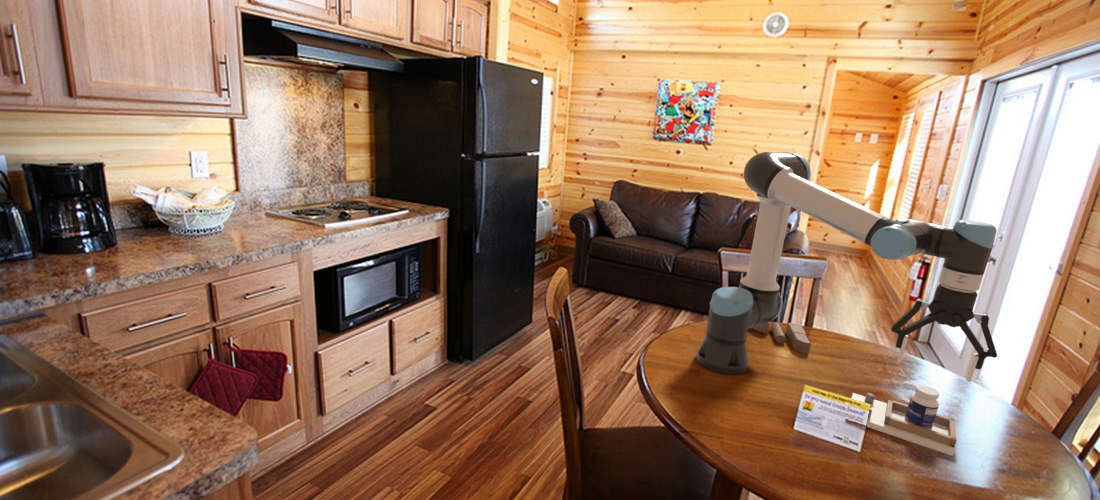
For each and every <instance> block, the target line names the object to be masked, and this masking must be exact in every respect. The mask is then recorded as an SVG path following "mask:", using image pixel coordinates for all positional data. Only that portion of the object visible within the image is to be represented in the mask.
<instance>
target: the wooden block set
mask: <svg viewBox="0 0 1100 500" xmlns="http://www.w3.org/2000/svg"><path fill="white" fill-rule="evenodd" d="M752 328H753V329H752ZM752 328H751V329H752V330H754V329H755V330H754V331H756V330H757V332H758V331H759V332H758V333H761V332H762V333H761V334H763V333H764V335H766V334H767V335H766V336H768V335H769V334H768V333H769V329H771V331H772V334H773V336H774V339H775V341H776V342H777V343H778V344H780V343H782V344H785V343H786V342H787V339H788V342H789V343H790V342H791V343H790V344H791V346H792V347H793V350H794V351H796V352H798V353H800V354H802V355H803V354H804V355H809V354H810V351H811V346H812V344H811V341H810V340H809V338H808V337H807V336H808V335H807V332H806V331H805V329H804V327H803V326H802V324H800V323H794V322H788V323H787V325H786V329H785V333H784V331H783V328H782V326H781V325H780V323H778V322H773V323H771V324H770V322H768V323H765V324H760V325H757V326H754V327H752ZM786 337H787V338H786Z"/></svg>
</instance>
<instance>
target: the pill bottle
mask: <svg viewBox="0 0 1100 500" xmlns="http://www.w3.org/2000/svg"><path fill="white" fill-rule="evenodd" d="M939 396H940V391H938V390H937V389H936V388H933V387H931V386H928V385H924V384H917V385H916V386H915V390H914V393H912V394H911V395H910V399H909V402H908V404H907V405H908V408H907V412H906V415H905V422H908V423H911V424H914V425H918V426H921V427H924V428H927V429H930V430H931V429H932V427H933V424H934V421H935V417H936V414H938V409H939V406H940V403H939V401H938V400H937V399H939Z"/></svg>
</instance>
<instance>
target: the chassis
mask: <svg viewBox="0 0 1100 500" xmlns="http://www.w3.org/2000/svg"><path fill="white" fill-rule="evenodd" d="M875 397H876V396H875V394H873V393H870V392H867V393H865V396H864V395H862V394H858V393H855V392H853V393H852V395H851V399H854V400H857V401H861V402H864V403H868V404H870V406H871V408H870V409H869V414H868V420H867V428H869V429H873V430H874V431H875V430H876V431H879V432H881V433H884V434H887V435H890V436H892V437H896V438H899V439H902V440H905V441H906V442H910V443H913V444H916V445H919V446H922V447H924V448H928V449H930V450H934V451H936V452H939V453H942V454H945V455H949V456H951V457H954V455H955V446H956V443H957V440H958V439H957V433H956V431H957V430H956V423H955V422H956V421H955V419H953V418H950V417H947V416H944V415H940V414H938V413H937V414H936V417H935V421H934V424H933V427H932V429H931V430H930V429H927V428H924V427H921V426H918V425H914V424H911V423H908V422H905V415H906V412H907V408H908V405H909V404H905V403H902V402H899V401H896V400H892V399H890V398H888V400H887V401H886V402H887V403H886V402H884V401H880V400H877V399H875ZM851 399H850V400H851Z"/></svg>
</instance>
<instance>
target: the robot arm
mask: <svg viewBox="0 0 1100 500" xmlns="http://www.w3.org/2000/svg"><path fill="white" fill-rule="evenodd" d="M811 174H812V173H811V166H810V163H809V162H808V161H807V160H806V158H805V157H803V156H802V155H800V154H798V153H796V152H795V153H794V152H789V151H763V152H759V153H757V154H755V155H753V156H752V157H751V158H749V160H748V161H747V162H746V164H745V166H744V169H743V179H744V181H745V182H744V183H745V184H746V185H747V187H748V188H749V189H750V190H751V191H752V192H754V193H756V197H757V198H758V199H759V202H760V204H759V209H758V214H757V220H756V225H755V230H754V235H753V240H752V246H751V250H750V251H751V252H750V256H749V259H748V266H747V272H746V276H744V277H742V278H741V279H740V281H739V286H724V287H723V286H722V287H720V288H719V287H718V288H717V289H716V290H714V292H713V293H712V296H711V300H710V301H709V311H708V317H707V318H708V319H707V323H706V324H707V325H706V331H705V336H704V338H703V340H702V342H701V343H700V344H699V345H700V346H699V348H698V349H697V352H696V358H695V359H696V361H697V363H699V364H700V366H702V367H704V368H706V369H707V370H709V371H712V372H715V373H718V374H723V375H740V374H744V373H745V372H747V370H748V367H749V357H748V351H747V347H746V341H747V337H748V332H749V331H748V330H749V329H752V328H751V327H754V326H757V325H760V324H765V323H768V322H769V323H771V321H774V320H776V318H777V317H778V316H779V315H780V314H781V312H782V310H783V307H784V305H783V304H784V303H783V302H784V301H783V297H782V296H781V293H780V288H781V287H780V285H779V284H778V282H777V277H778V272H779V268H780V267H779V266H780V262H781V257H782V253H783V249H784V248H783V247H784V243H785V239H786V233H787V229H788V228H787V227H788V224H789V223H788V222H789V219H790V214H791V210H792V209H791V208H794V209H796V210H797V211H800V212H802V213H804V214H806V215H807V216H810V217H811V218H813V219H816V220H817V221H819V222H821V223H823V224H825V225H827V226H829V227H831V228H833V229H835V230H837V231H838V232H841V233H843V234H845V235H847V236H849V237H850V238H851V237H852V239H854V240H857V241H859V242H860V243H863V244H865V245H866V246H869V247H871V249H872V251H873V253H874V254H875V255H876V256H877V257H879V258H881V259H883V260H890V261H892V260H893V261H896V260H902V259H905V258H907V257H910V256H913V255H918V254H922V255H926V256H930V257H931V256H932V257H936V258H939V259H941V258H942V259H944V262H943V265H942V268H941V271H940V275H939V278H938V282H939V284H937V286H936V289H935V291H934V292H935V293H934V296H933V298H932V301H931V302H927V301H924V300H922V299H921V298H917V299H916V300H915V302H914V304H913V306H912V307H911V308H909V309H908V311H906V312H905V313H904V314H903V315H902V316H901V317H899V318H898V320H896V321H895V322H894V323H893V324H892V325H891V328H890V329H891V332H893V333H895V334H897V335H898V336H897V339H896V343H895V347H896V348H898V349H899V352H898V356H897V359H896V360H897V361H896V362H898V363H902V359H903V357H904V353H905V349H906V347H907V343H908V339H909V334H911V333H913V332H915V331H917V330H919V329H921V328H923V327H925V326H927V325H929V324H931V323H934V322H936V323H938V324H939V325H942V326H943V325H944V326H945V325H946V326H948V327H951V328H957V327H959V328H960V329H961V331H962V332H963V333H964V334H965V336H966V338H967V339H968V341H969V342H970V344H971V345H972V346H973V348H974V349H975V351H976V352H975V351H974V352H973V353H972V357H971V360H970V362H969V365H968V368H967V372H966V375H965V382H968V383H971V382H972V379H973V376H974V372H975V370H981V369H982V368H983V365H984V361H985V359H986V358H997V357H998V353H997V350H996V347H995V343H994V341H993V337H992V334H991V331H990V328H989V321H990V316H989V314H988V313H987V312H982V313H979V312H978V313H977V312H974V306H975V305H976V304H975V303H976V302H977V297H978V293H977V291H979V290H980V288H981V285H982V281H983V277H984V275H985V272H986V269H987V266H988V262H989V260H990V257H991V255H992V254H991V253H992V252H993V249H994V247H995V245H994V243H995V241H996V240H995V239H996V235H997V228H996V226H994V225H993V224H992V223H991V224H990V223H987V222H982V221H976V220H974V221H973V220H968V219H967V220H966V219H960V220H957V221H956V222H955V223H954V225H953V226H950V225H949V226H948V225H941V224H936V223H932V222H928V221H927V222H926V221H922V220H921V221H920V220H917V219H914V218H903V217H902V218H896V219H895V220H893V219H891V218H888V217H886V216H885V215H883V214H881V213H879V212H877V211H875V210H871V209H870V208H868V207H866V206H863V205H861V204H860V203H856V202H855V201H854V200H853V201H852V200H850V199H848V198H847V197H844V196H842V195H839V194H838V193H835V192H834V191H831V190H830V189H827V188H824V187H822V186H820V185H818V184H816V183H813V182H811V181H810V179H811V176H812V175H811ZM926 308H928V310H929V312H930V313H928V314H927V315H925V316H923V317H921V318H919V319H918V320H916V321H913V322H911V323H910V324H908V325H907V326H905V327H903V326H904V325H905V324H907V323H908V321H910V320H911V319H912V318H914V316H915V315H916V314H917V313H918V312H919V311H922V310H925V309H926ZM972 319H975V320H976V323H978V324H980V328H981V330H982V333H983V337H984V340H985V343H986V346H987V348H988V349H984V346H982V344H981V342H980V341H979V340H978V338H977V337H976V335H975V334H974V333H973V331H972V330H971V328H970V325H968V323H967V322H969V321H970V320H972Z"/></svg>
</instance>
